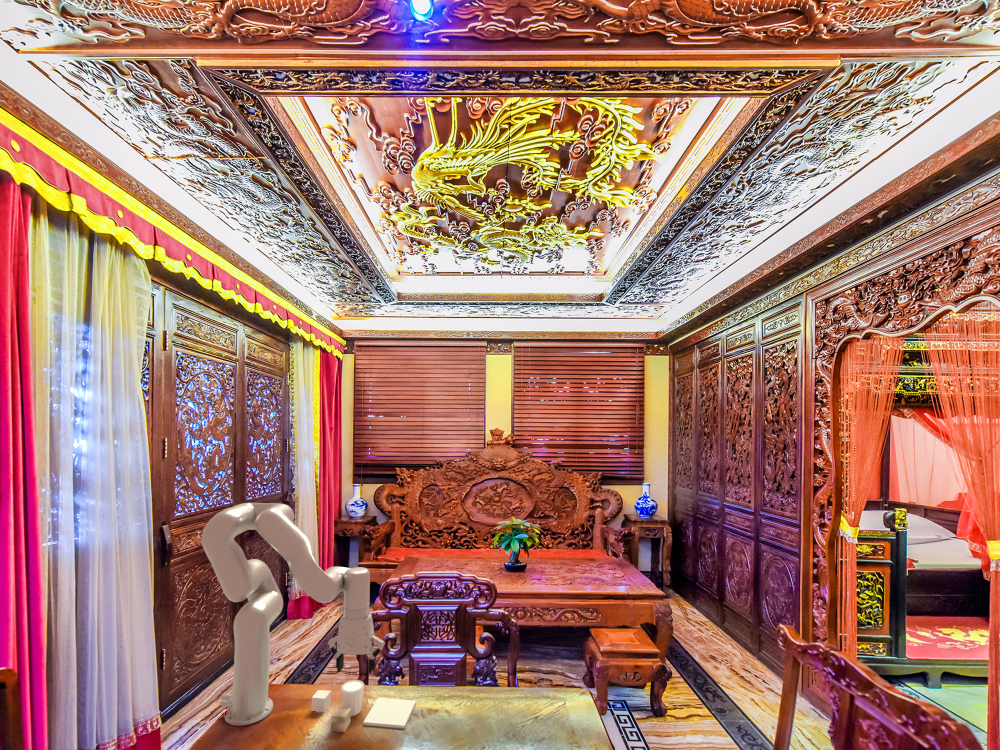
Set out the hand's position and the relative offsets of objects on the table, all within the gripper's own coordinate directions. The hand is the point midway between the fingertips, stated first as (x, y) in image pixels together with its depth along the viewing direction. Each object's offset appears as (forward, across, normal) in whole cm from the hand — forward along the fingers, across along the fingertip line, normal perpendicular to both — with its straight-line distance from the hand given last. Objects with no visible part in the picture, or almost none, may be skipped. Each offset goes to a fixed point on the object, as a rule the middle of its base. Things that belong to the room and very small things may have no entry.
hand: (355, 670), depth 143 cm
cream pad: (+12, +11, 0) cm, 16 cm away
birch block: (+11, -1, -8) cm, 14 cm away
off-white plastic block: (+11, -11, 0) cm, 15 cm away
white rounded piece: (+12, -1, 0) cm, 12 cm away
